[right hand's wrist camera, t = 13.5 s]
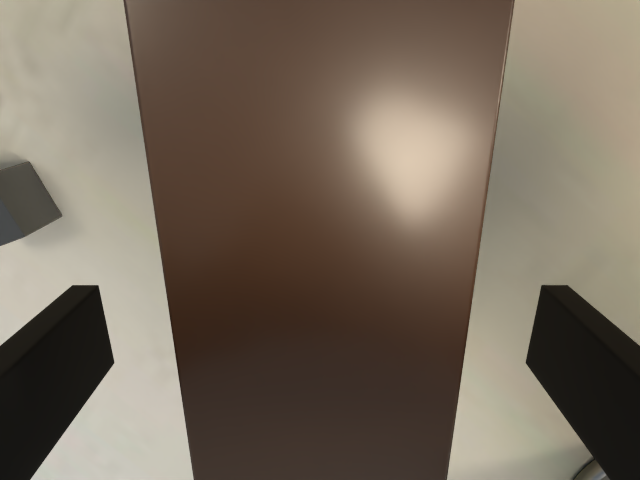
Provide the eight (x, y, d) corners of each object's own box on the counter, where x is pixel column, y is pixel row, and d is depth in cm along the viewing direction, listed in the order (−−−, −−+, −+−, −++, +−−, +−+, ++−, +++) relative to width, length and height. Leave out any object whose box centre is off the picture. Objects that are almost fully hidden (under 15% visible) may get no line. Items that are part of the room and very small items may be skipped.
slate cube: (29, 161, 28) (-16, 174, 24) (62, 216, 29) (25, 236, 25) (-22, 181, 28) (-74, 198, 25) (13, 234, 30) (-31, 257, 26)
